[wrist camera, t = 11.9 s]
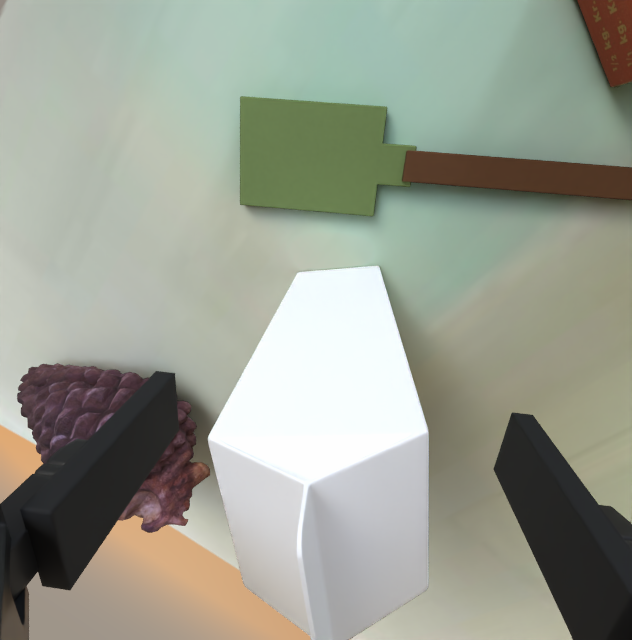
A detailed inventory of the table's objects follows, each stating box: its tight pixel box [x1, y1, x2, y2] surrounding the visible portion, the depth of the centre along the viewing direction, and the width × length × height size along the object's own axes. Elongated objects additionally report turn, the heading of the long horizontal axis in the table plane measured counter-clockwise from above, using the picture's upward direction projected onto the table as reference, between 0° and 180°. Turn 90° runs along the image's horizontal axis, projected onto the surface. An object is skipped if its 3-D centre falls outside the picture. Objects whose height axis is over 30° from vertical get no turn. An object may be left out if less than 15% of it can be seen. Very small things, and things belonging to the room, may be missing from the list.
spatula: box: [240, 96, 632, 216], centre depth 24 cm, size 26×6×1 cm, turn 86°
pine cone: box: [17, 363, 210, 533], centre depth 29 cm, size 18×10×10 cm
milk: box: [208, 266, 429, 640], centre depth 18 cm, size 6×6×22 cm
